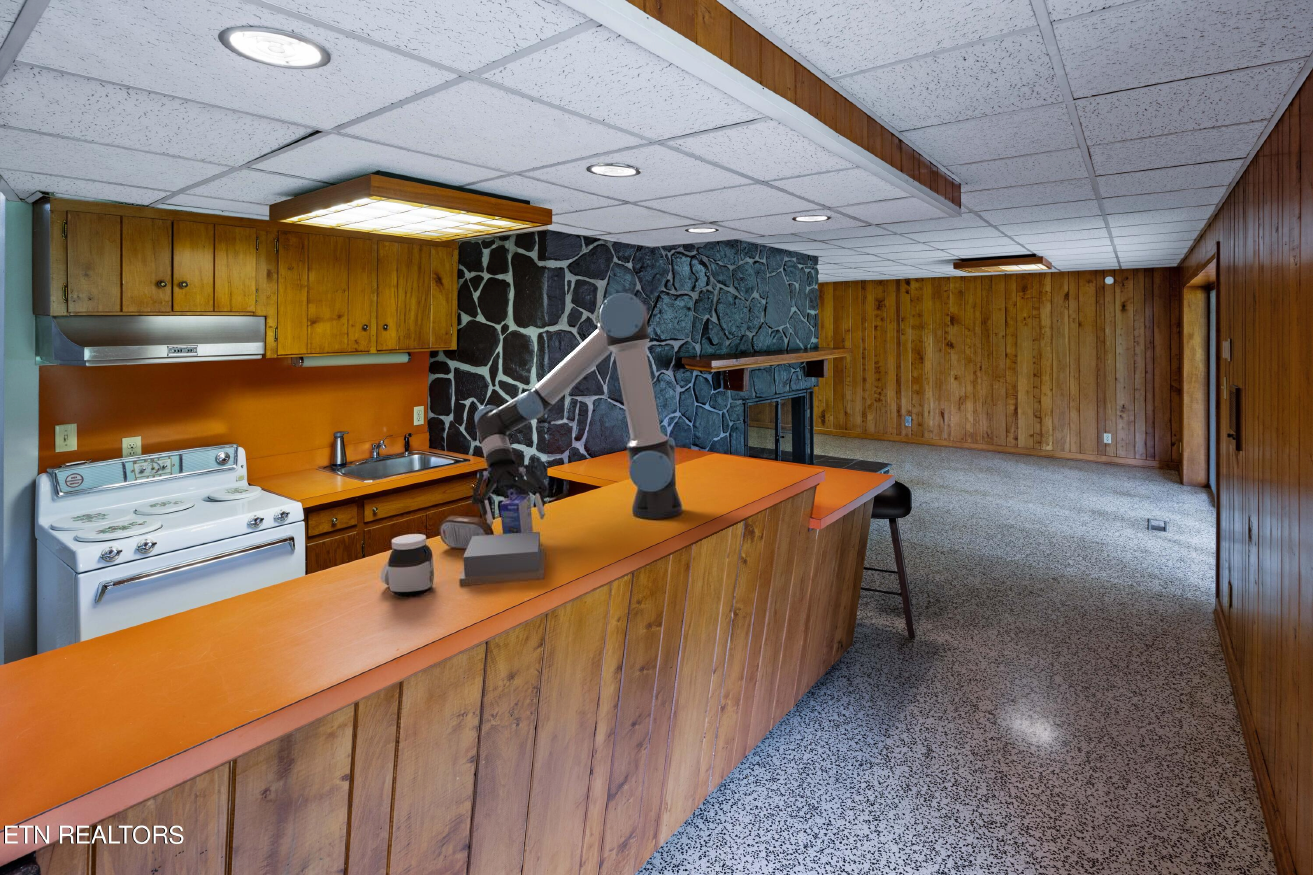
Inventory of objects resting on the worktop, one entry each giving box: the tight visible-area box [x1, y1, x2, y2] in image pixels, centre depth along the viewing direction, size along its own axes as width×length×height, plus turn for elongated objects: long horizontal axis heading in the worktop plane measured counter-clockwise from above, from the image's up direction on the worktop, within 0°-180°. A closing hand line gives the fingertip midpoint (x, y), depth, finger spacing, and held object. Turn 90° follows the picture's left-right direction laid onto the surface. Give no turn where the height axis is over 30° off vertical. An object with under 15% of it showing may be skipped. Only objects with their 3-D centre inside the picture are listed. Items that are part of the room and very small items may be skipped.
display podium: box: [459, 531, 546, 586], centre depth 152 cm, size 18×18×6 cm
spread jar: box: [379, 533, 435, 599], centre depth 140 cm, size 12×11×12 cm
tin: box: [438, 515, 495, 551], centre depth 167 cm, size 15×3×8 cm, turn 71°
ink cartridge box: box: [499, 488, 534, 534], centre depth 170 cm, size 10×6×14 cm, turn 174°
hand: (517, 520), depth 169 cm, fingers open, 13 cm apart
